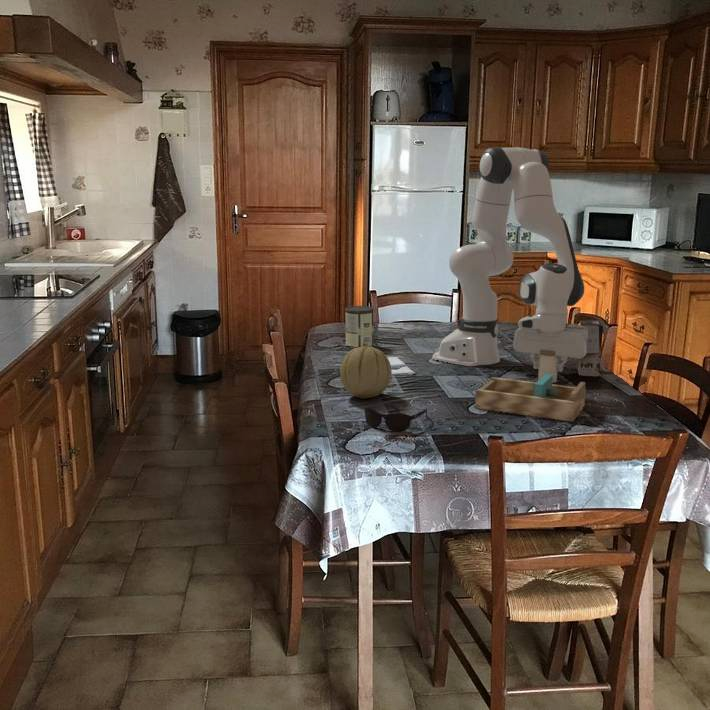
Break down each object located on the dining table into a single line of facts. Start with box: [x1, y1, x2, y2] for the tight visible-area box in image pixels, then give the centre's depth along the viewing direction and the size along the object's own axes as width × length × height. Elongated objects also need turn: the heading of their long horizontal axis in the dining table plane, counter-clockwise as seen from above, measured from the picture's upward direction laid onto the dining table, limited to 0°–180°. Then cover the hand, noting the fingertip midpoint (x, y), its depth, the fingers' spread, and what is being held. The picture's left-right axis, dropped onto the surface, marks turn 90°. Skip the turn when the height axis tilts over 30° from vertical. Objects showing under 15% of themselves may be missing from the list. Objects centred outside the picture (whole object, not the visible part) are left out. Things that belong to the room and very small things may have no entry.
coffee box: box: [576, 319, 604, 377], centre depth 245 cm, size 9×6×16 cm
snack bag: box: [386, 356, 417, 374], centre depth 252 cm, size 19×20×2 cm
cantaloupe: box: [339, 343, 393, 399], centre depth 220 cm, size 15×15×15 cm
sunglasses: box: [364, 402, 428, 433], centre depth 200 cm, size 14×16×5 cm
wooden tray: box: [474, 376, 587, 422], centre depth 211 cm, size 26×15×7 cm, turn 63°
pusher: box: [534, 374, 559, 399], centre depth 209 cm, size 5×12×7 cm, turn 153°
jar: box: [537, 350, 559, 384], centre depth 224 cm, size 6×6×9 cm
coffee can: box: [344, 305, 375, 347], centre depth 282 cm, size 10×10×14 cm
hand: (548, 369), depth 224 cm, fingers closed on jar, 5 cm apart
